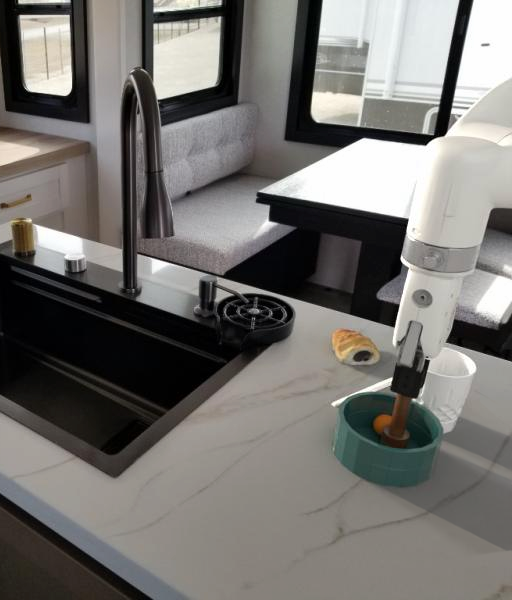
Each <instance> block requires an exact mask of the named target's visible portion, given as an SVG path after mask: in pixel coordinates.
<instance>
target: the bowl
mask: <svg viewBox="0 0 512 600" xmlns="http://www.w3.org/2000/svg"><path fill="white" fill-rule="evenodd" d="M353 394H354V393H353ZM348 396H349V395H348ZM346 397H347V396H346ZM396 397H397V394H396V393H390V392H384V391H383V392H382V391H376V392H362V393H357V394H354V395H352V396H349V397H347V398H346V399H345V400H344V401H343V402H342V403H341V404H340V405H339V406H338V407H339V408H338V410H337V415H336V420H335V428H334V432H333V438H332V444H331V445H332V449H333V453H334V456H335V457H336V458H337V460H338V461H339V462H340V464H342V466H343V467H344V468H346V470H348V471H349V472H350V473H352V474H354V475H356V476H357V477H359V478H361V479H363V480H365V481H368V482H370V483H373V484H377V485H380V486H384V487H390V488H391V487H392V488H409V487H415V486H418V485H421V484H423V483H425V482H427V481H428V480H429V479H430V478H431V477H432V475H433V474H434V472H435V468H436V464H437V461H438V457H439V454H440V451H441V447H442V444H443V440H444V433H443V432H444V429H443V427H442V425H441V423H440V420H439V419H438V418H437V417H436V416H435V415H434V414H433V413H432V412H431V411H430V410H429V409H427V408H425V407H424V406H422V405H421V404H419V403H417V402H415V401H413V400H412V403H411V407H410V411H409V415H408V419H407V423H406V427H405V429H406V430H407V431H408V432H409V434H410V437H409V441H408V445H407V449H400V448H391V447H388V446H384V445H381V442H380V440H381V436H380V435H378V434H377V433H376V432H375V430H374V428H373V422H374V420H375V418H376V417H377V416H379V415H382V414H386V415H390V416H392V414H393V410H394V405H395V401H396Z"/></svg>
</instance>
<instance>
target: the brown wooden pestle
mask: <svg viewBox="0 0 512 600" xmlns="http://www.w3.org/2000/svg"><path fill="white" fill-rule="evenodd" d="M415 356H417V357H418V358H419V357H420V354H416V353H415ZM396 395H397V397H396V401H395V405H394V410H393V414H392V418H391V423H390V425H386V426H385V427H384V428H383V431H382V436H381V440H380V442H381V445H384V446H388V447H391V448H400V449H407V445H408V441H409V437H410V434H409V432H408V431H407V430H406V429H405V427H406V423H407V419H408V415H409V411H410V407H411V403H412V398H410V397H407V396H404V395H401V394H398V393H396Z"/></svg>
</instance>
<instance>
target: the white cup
mask: <svg viewBox="0 0 512 600" xmlns="http://www.w3.org/2000/svg"><path fill="white" fill-rule="evenodd" d="M425 359H428V358H425ZM428 360H430V363H429V367H428V371H427V375H426V379H425V383H424V386H423V388H420V392H419V396H418V398H417V399H413V398H412V400H413V401H415V402H417V403H419V404H421V405H422V406H424V407H425V408H427V409H429V410H430V411H431V412H432V413H433V414H434V415H435V416H436V417H437V418H438V419H439V420H440V423H441V425H442V427H443V429H444V432H443V434H446V433H450V432H452V431H453V430H454V428H455V427H456V424H457V421H458V418H459V416H460V415H461V414H462V410H463V407H464V406H465V402H466V400H467V398H468V395H469V392H470V390H471V386H472V383H473V381H474V378H475V375H476V373H477V365H476V363H475V361H474V360H473V359H472V358H471V357H469V356H468V355H466V354H464V353H463V352H460V351H458V350H455V349H453V348H449V347H445V346H443V348H442V350H441V352H440V354H439V355H438V356H437V357H436V358H434V359H431V358H430V357H429V359H428Z"/></svg>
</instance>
